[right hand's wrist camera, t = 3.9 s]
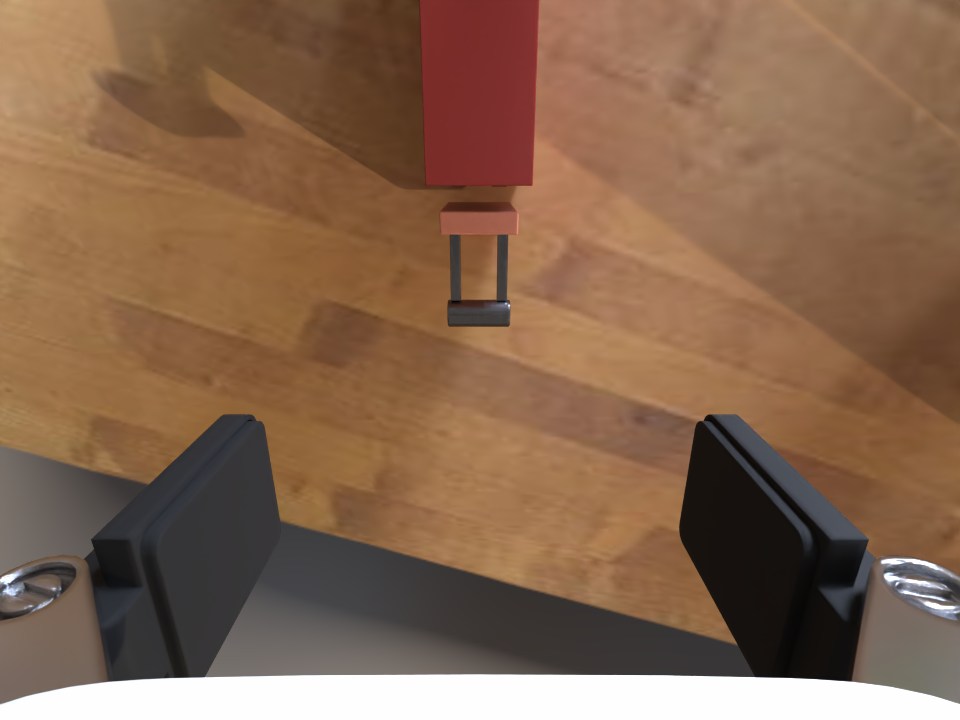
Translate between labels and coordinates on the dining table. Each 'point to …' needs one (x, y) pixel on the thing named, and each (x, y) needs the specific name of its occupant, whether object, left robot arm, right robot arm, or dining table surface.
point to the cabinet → (479, 91)
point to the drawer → (502, 223)
